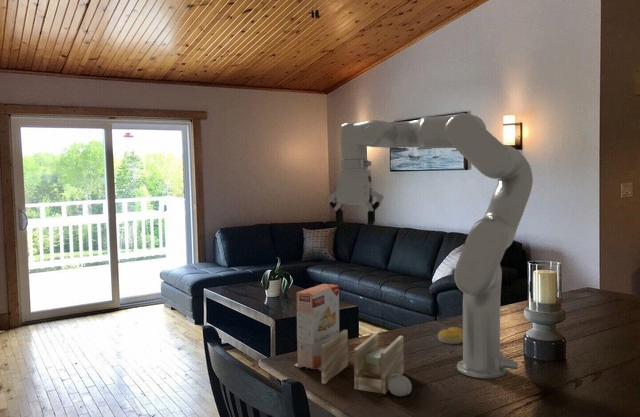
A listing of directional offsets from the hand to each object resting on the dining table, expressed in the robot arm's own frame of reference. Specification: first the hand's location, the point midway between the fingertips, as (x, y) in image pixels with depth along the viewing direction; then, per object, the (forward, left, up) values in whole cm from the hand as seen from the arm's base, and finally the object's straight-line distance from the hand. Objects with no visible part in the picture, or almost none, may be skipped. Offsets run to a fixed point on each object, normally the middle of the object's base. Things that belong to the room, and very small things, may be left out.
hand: (355, 224), depth 164 cm
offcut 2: (-13, +19, -36) cm, 42 cm away
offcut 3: (-13, +19, -39) cm, 45 cm away
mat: (+7, +12, -38) cm, 40 cm away
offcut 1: (-14, +18, -33) cm, 40 cm away
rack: (-9, +19, -38) cm, 43 cm away
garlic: (-21, +25, -38) cm, 50 cm away
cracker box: (+7, +12, -38) cm, 40 cm away
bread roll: (-23, -22, -39) cm, 50 cm away
